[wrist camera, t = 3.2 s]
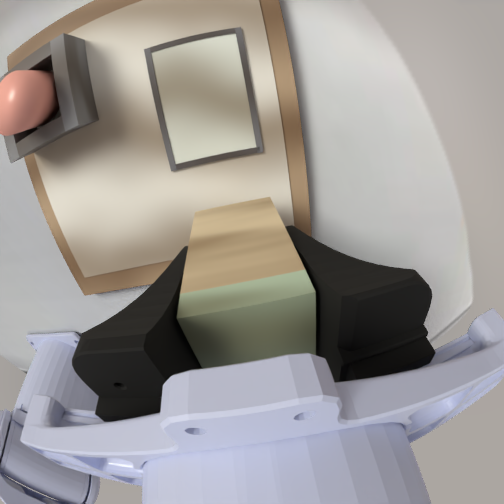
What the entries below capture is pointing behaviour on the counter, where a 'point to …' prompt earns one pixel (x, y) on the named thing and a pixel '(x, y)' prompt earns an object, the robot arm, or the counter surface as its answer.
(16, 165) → the counter surface
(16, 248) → the counter surface
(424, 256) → the counter surface
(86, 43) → the brown framed board
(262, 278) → the green topped wooden block
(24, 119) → the button
